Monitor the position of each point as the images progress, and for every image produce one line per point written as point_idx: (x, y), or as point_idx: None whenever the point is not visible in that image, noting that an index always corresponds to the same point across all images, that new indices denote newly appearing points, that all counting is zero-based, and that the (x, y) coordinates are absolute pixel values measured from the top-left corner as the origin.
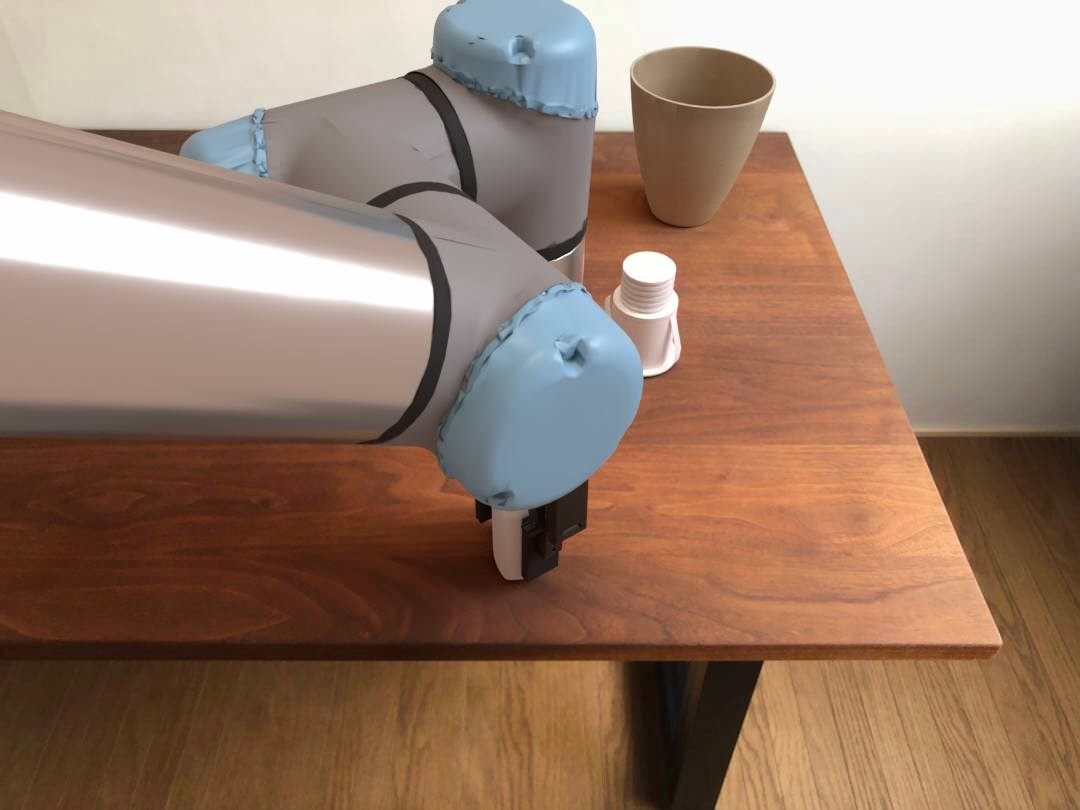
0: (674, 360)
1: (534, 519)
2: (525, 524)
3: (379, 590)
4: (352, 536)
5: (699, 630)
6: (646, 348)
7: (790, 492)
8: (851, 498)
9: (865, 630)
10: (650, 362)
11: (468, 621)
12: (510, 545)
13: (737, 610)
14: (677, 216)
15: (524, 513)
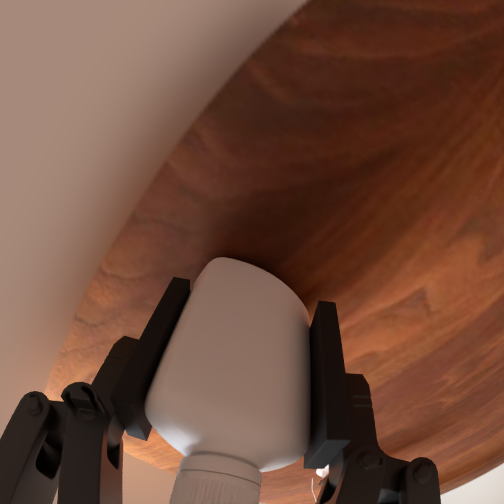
0: (312, 480)
1: (82, 425)
2: (97, 405)
3: (357, 89)
4: (469, 137)
5: (75, 336)
6: None
7: (162, 440)
8: (141, 445)
9: (54, 383)
10: (327, 474)
11: (200, 164)
12: (181, 325)
13: (83, 363)
14: None
15: (148, 413)
